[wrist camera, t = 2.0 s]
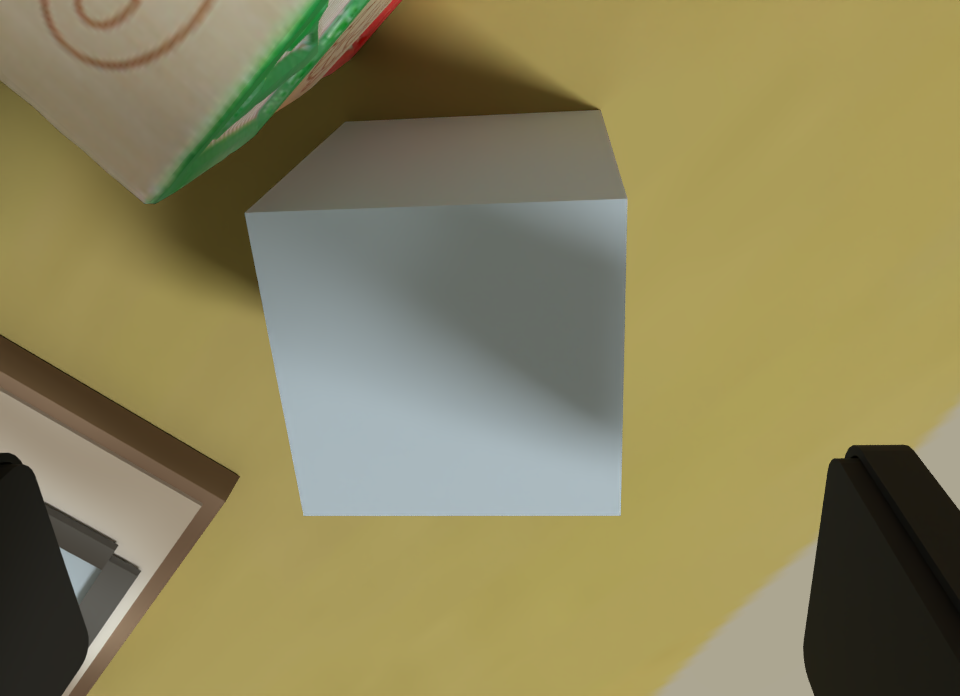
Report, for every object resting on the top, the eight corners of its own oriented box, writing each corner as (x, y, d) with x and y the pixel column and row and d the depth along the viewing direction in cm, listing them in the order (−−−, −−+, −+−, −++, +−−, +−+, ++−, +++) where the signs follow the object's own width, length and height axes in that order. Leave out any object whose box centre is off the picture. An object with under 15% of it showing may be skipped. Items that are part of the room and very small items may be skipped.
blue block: (345, 121, 16) (244, 212, 11) (600, 109, 16) (627, 198, 10) (374, 347, 18) (304, 515, 13) (598, 342, 18) (620, 515, 13)
